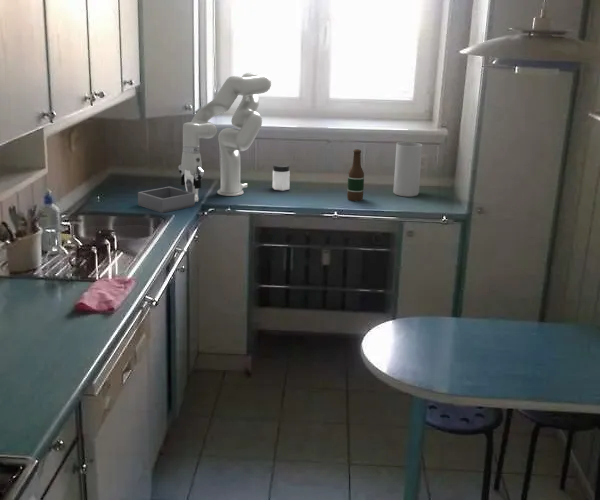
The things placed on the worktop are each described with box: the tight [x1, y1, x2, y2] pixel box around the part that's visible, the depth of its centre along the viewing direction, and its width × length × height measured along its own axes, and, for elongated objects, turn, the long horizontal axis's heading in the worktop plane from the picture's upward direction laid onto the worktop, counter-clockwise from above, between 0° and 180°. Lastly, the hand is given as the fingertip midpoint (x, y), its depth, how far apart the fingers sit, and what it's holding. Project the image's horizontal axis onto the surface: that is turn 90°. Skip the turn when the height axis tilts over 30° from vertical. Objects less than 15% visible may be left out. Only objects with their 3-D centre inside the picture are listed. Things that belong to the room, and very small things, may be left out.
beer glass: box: [184, 169, 200, 203], centre depth 352 cm, size 7×7×15 cm
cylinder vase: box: [392, 141, 423, 198], centre depth 375 cm, size 12×12×25 cm
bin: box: [137, 186, 196, 214], centre depth 343 cm, size 18×18×6 cm
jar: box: [272, 163, 291, 191], centre depth 381 cm, size 9×8×12 cm
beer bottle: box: [346, 149, 365, 202], centre depth 361 cm, size 8×8×24 cm
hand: (191, 186), depth 352 cm, fingers open, 9 cm apart
